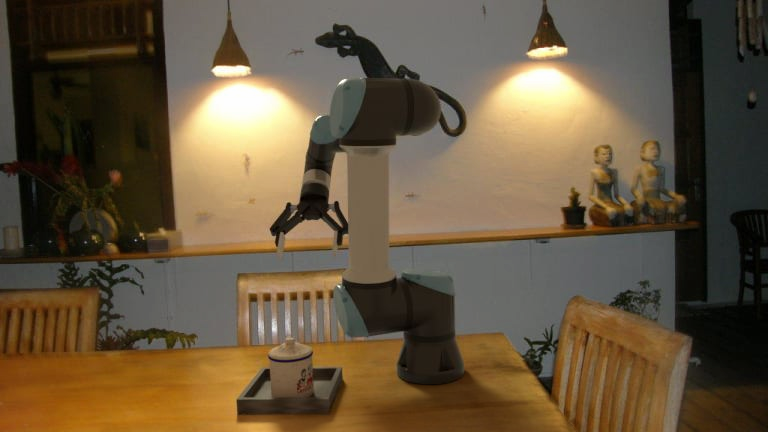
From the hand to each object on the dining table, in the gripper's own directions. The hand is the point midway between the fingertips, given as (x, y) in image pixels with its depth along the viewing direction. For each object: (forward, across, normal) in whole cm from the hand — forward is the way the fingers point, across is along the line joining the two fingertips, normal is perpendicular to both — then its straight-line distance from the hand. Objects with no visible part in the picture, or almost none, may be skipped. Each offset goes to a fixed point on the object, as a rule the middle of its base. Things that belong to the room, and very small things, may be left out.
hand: (306, 256), depth 149 cm
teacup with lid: (+35, -1, 0) cm, 35 cm away
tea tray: (+35, -1, -1) cm, 35 cm away
